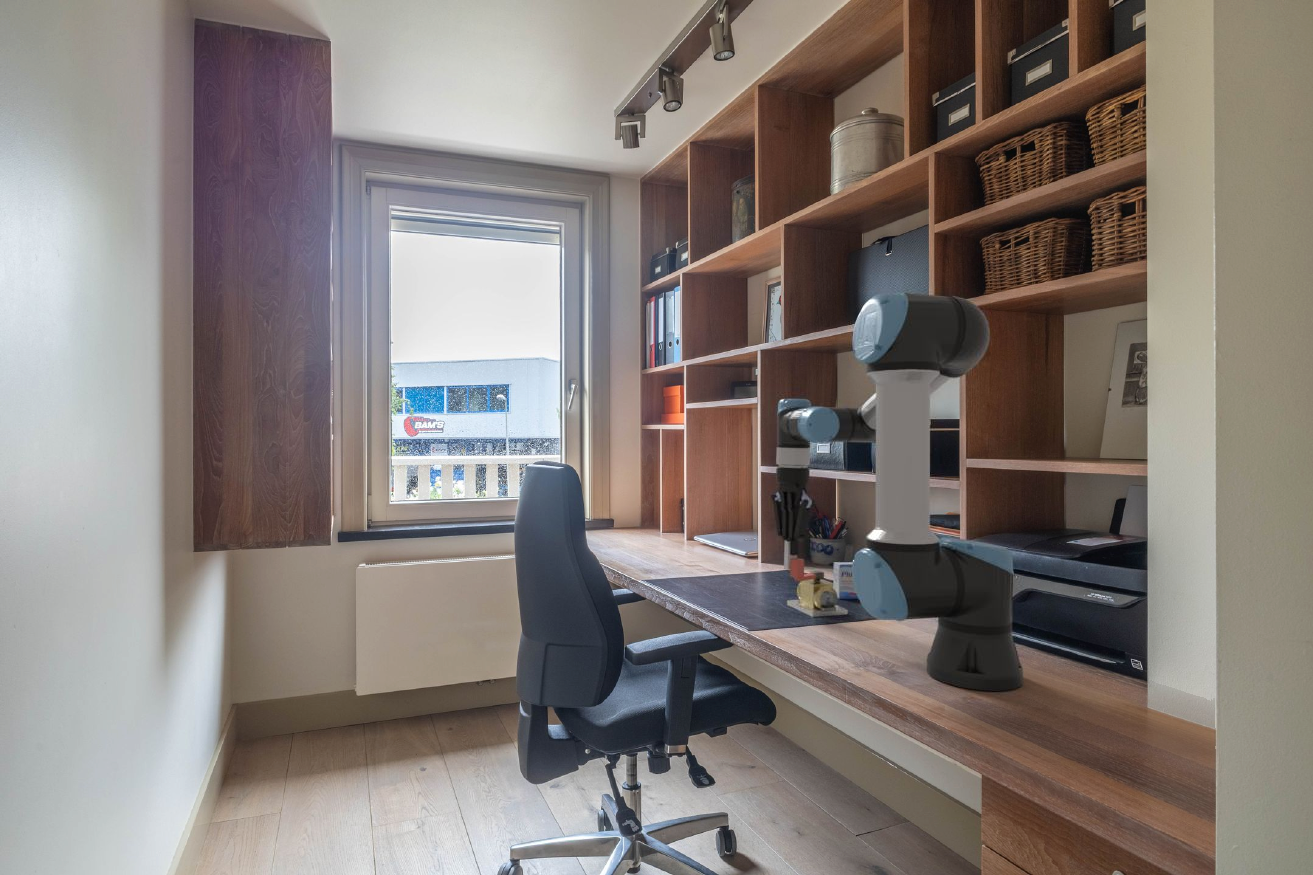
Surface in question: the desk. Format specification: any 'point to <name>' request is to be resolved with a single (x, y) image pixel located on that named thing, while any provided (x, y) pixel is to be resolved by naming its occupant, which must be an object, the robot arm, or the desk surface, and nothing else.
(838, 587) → the medicine box
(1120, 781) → the desk surface
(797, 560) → the lever
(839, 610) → the valve fixture
